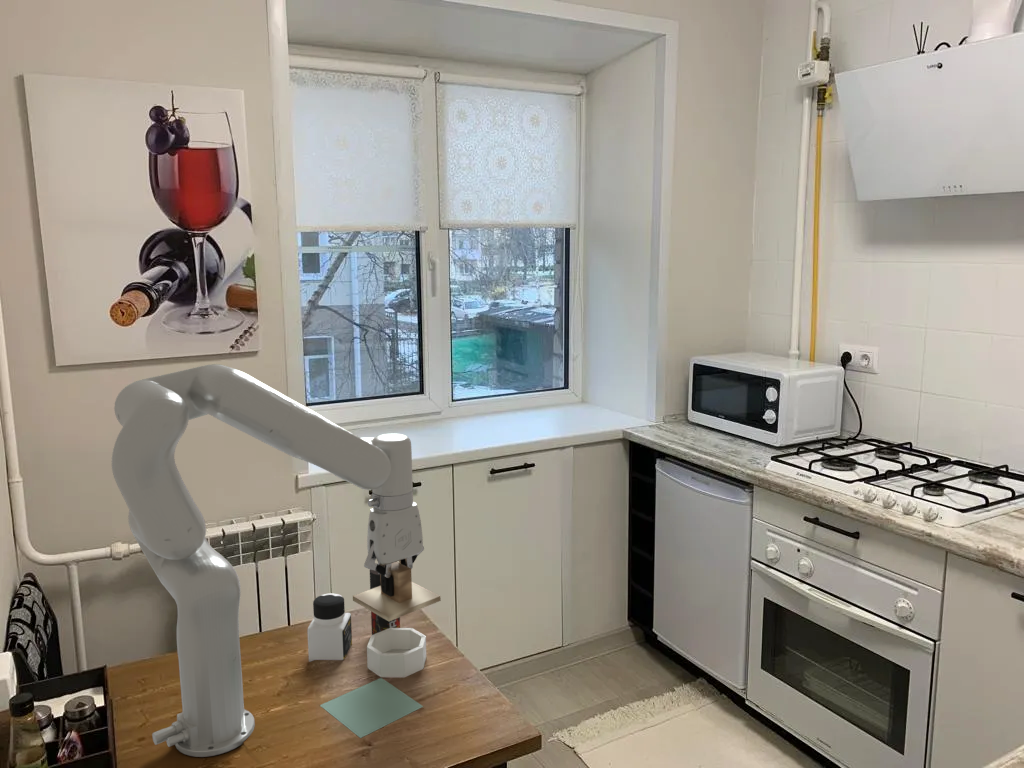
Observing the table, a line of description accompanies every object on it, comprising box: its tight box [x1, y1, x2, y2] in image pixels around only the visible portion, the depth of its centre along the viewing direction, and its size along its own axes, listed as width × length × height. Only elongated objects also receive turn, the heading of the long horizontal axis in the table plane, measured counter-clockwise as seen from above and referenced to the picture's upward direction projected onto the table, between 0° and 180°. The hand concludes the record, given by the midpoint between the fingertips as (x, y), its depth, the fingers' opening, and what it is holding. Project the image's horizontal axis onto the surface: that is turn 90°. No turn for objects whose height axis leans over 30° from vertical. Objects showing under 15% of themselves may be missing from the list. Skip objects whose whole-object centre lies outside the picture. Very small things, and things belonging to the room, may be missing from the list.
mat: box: [319, 677, 424, 739], centre depth 138 cm, size 13×13×1 cm
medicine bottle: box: [306, 592, 353, 663], centre depth 156 cm, size 7×7×12 cm
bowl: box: [366, 627, 427, 678], centre depth 152 cm, size 11×11×5 cm
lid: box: [352, 561, 441, 621], centre depth 149 cm, size 12×12×7 cm
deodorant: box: [369, 569, 401, 635], centre depth 162 cm, size 6×6×15 cm
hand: (396, 590), depth 150 cm, fingers closed on lid, 3 cm apart
